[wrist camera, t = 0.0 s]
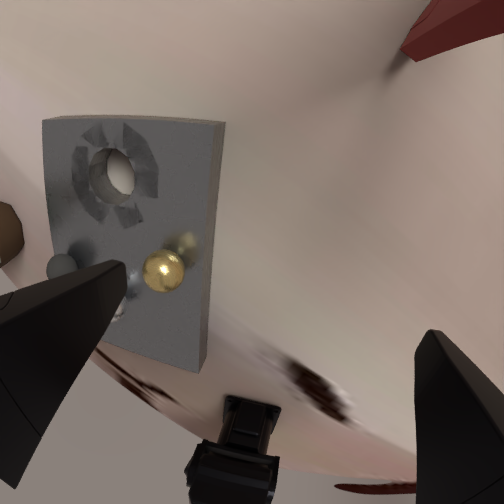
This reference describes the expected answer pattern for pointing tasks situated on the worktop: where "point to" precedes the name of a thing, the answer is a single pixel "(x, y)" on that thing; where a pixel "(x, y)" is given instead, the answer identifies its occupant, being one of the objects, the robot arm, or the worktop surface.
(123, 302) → the steel ball
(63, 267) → the black ball
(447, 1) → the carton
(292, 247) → the worktop surface
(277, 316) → the worktop surface
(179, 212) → the plate
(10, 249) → the beer bottle
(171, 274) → the brass ball
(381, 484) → the worktop surface
